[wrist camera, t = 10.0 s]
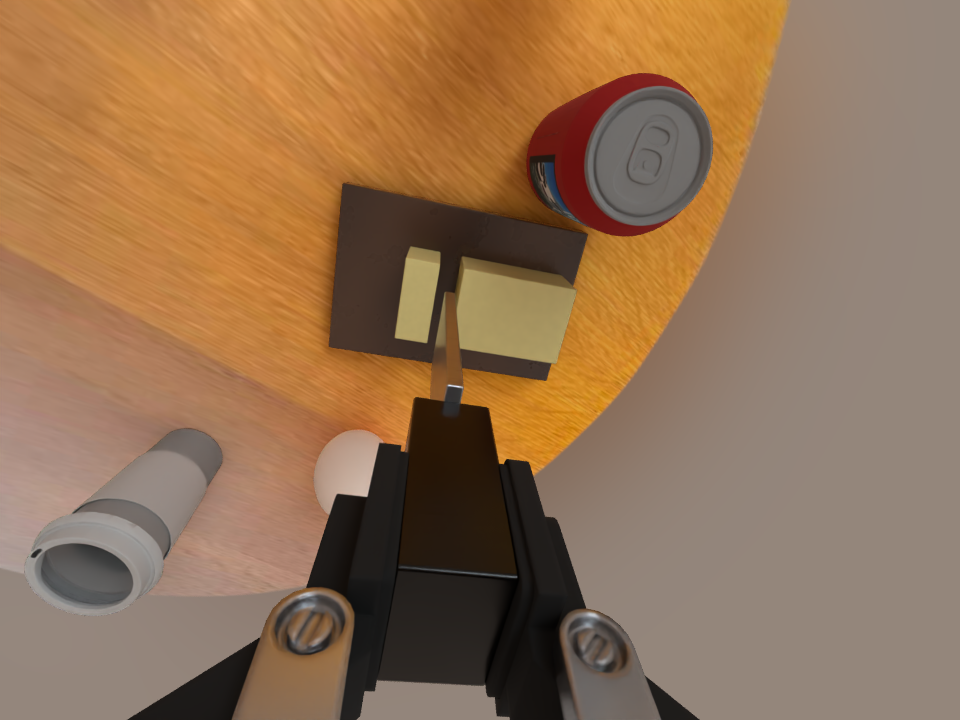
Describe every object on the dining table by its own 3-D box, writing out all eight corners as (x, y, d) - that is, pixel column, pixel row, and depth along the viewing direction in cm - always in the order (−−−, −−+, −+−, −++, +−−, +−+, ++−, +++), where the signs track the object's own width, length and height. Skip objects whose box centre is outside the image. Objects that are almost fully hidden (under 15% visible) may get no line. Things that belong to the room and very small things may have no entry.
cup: (182, 399, 35) (61, 508, 24) (255, 452, 37) (176, 575, 26) (126, 455, 36) (-13, 582, 25) (200, 503, 38) (102, 639, 27)
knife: (472, 295, 22) (529, 556, 8) (457, 369, 24) (480, 704, 9) (427, 287, 22) (397, 544, 7) (415, 363, 24) (370, 698, 9)
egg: (403, 465, 38) (393, 535, 31) (337, 476, 38) (312, 548, 31) (388, 408, 36) (374, 469, 29) (319, 419, 36) (287, 483, 29)
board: (582, 230, 32) (588, 233, 31) (542, 373, 36) (546, 381, 35) (346, 181, 30) (342, 182, 28) (333, 340, 34) (328, 347, 32)
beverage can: (510, 199, 31) (548, 219, 20) (542, 87, 28) (606, 38, 17) (603, 226, 32) (687, 259, 21) (641, 121, 30) (759, 96, 19)
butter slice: (440, 251, 30) (440, 263, 27) (428, 323, 32) (426, 343, 28) (410, 246, 30) (405, 257, 26) (399, 318, 32) (394, 338, 28)
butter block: (562, 275, 32) (577, 289, 28) (543, 342, 33) (556, 364, 30) (461, 255, 31) (464, 268, 27) (448, 326, 32) (449, 347, 29)
